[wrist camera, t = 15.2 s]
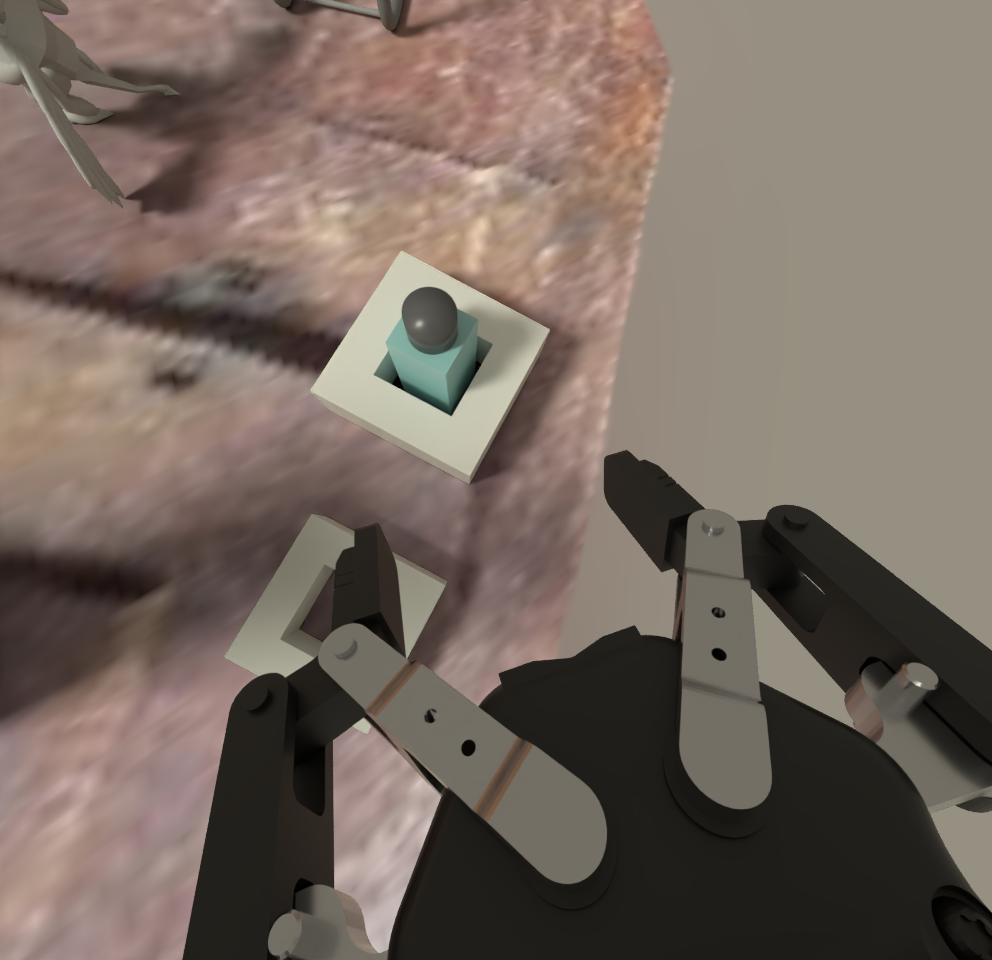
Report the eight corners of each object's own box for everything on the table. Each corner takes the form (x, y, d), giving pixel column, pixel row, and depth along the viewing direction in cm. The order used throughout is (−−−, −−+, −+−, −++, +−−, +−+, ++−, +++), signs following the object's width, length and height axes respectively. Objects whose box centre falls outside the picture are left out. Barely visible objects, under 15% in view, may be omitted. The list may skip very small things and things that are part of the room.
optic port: (329, 410, 31) (310, 390, 27) (408, 285, 33) (401, 250, 29) (469, 484, 31) (469, 476, 27) (539, 355, 33) (550, 329, 29)
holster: (249, 645, 28) (223, 657, 25) (326, 516, 30) (311, 513, 27) (377, 714, 28) (366, 734, 25) (447, 581, 30) (445, 585, 27)
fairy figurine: (177, -11, 33) (53, -250, 20) (186, 238, 37) (88, 172, 24) (16, -70, 30) (-252, -396, 17) (46, 208, 34) (-151, 116, 21)
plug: (405, 392, 32) (377, 324, 22) (430, 350, 32) (415, 265, 23) (450, 416, 32) (443, 359, 22) (475, 374, 32) (479, 300, 22)
